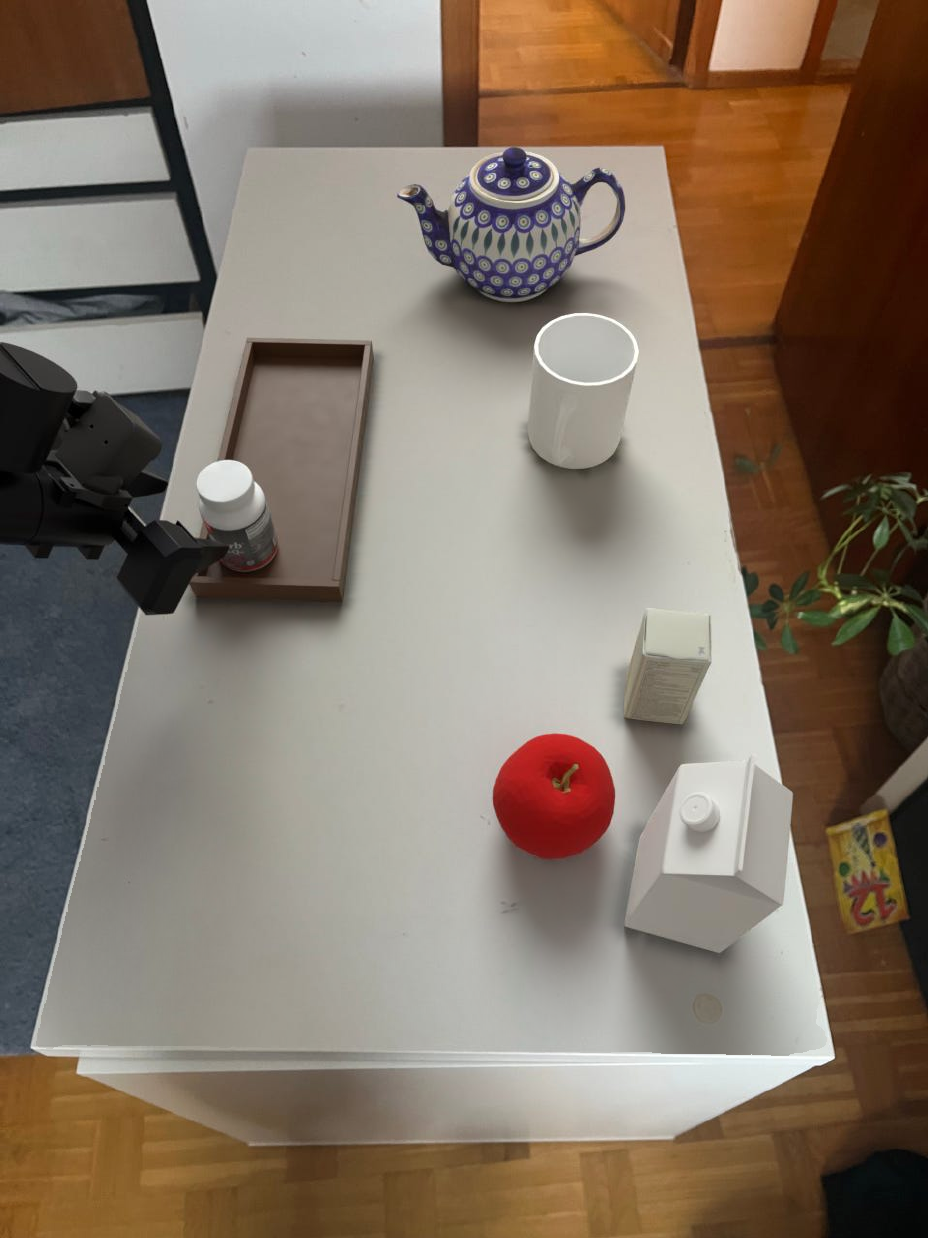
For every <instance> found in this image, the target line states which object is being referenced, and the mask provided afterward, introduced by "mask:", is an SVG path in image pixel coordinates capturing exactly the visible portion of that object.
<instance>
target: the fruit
mask: <svg viewBox="0 0 928 1238" xmlns="http://www.w3.org/2000/svg"><path fill="white" fill-rule="evenodd" d="M615 803H616V788H615V783H614V779H613V776H612V773H611V770H610V768H609V765H608V762H607V760H606V759H605V758H604V756H603V755H602V754H601V752H599V750H597V749H596V747H595V746H593V745H591V744H590V743H588V742H587V741H585V740H583V739H581V738H579V737H577V736H575V735H571V734H566V733H555V732H554V733H546V734H541V735H537V736H535V737H532V738H531V739H529V740H528V741H526V742H525V743H523V744H522V745H521V746H520V747H518V748H517V749H516V750H515V751H514V752H513V753H512V754H511V755H510V756H509V757H508V758H507V759H506V760H505V762H504V763H503V764H502V766H501V767H500V769H499V772H498V774H497V776H496V778H495V781H494V786H493V789H492V806H493V809H494V813H495V816H496V818H497V821H498V824H499V826H500V828H501V829H502V831H503V832H504V834H505V835H506V837H507V838H508V840H509V841H510V842H511V843H512V844H513V845H514V846H515V847H516V848H518V849H519V850H521V851H523V852H524V853H527V854H528V855H531V856H535V857H537V858H540V859H543V860H544V859H545V860H561V859H566V858H570V857H573V856H577V855H581V854H582V853H584V852H585V851H587V850H589V849H590V848H591V847H593V845H595V844H596V843H597V842H598V841H600V839H601V838H602V837H603V836H604V835H605V833H606V832H607V831H608V829H609V827H610V825H611V823H612V819H613V816H614V813H615V812H614V810H615Z"/></svg>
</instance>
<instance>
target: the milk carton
mask: <svg viewBox="0 0 928 1238" xmlns="http://www.w3.org/2000/svg"><path fill="white" fill-rule="evenodd" d="M756 756H757V755H756V754H755V753H752V754H751V755H750V756H749V758H748V759H745V760H744V759H743V760H727V761H713V762H712V761H711V762H693V763H681V764H680V765H679V767H678V768H677V769H676V771H675V773H674V775H673V777H672V778H671V780H670V781H669V784H668V786H667V787H666V789H665V791H664V793H663V794H662V796H661V798H660V800H659V802H658V804H657V806H656V807H655V809H654V811H653V813H652V815H651V816H650V818H649V819H648V821H647V824H646V825H645V827H644V828H643V831H641V834H640V836H639V840H638V845H637V849H636V856H635V861H634V867H633V872H632V878H631V884H630V890H629V895H628V900H627V905H626V906H627V907H626V912H625V918H624V927H626V928H629V929H632V930H636V931H639V932H643V933H645V934H646V933H647V934H650V935H653V936H657V937H661V938H664V939H668V940H670V941H671V940H672V941H674V942H679V943H681V944H685V945H689V946H693V947H696V948H700V949H704V950H707V951H711V952H714V953H718V954H720V953H722V952H723V951H725V950H727V948H729V947H730V946H731V945H732V944H734V943H735V942H737V940H739V939H740V938H742V937H743V936H744V935H745V934H747V933H748V932H750V931H751V930H752V929H753V928H755V927H756V926H757V925H758V924H760V923H761V922H762V921H763V920H765V919H766V918H768V917H769V916H770V915H771V914H773V913H774V912H776V911H777V910H778V909H779V908H781V907H782V906H784V901H785V889H786V878H787V867H788V856H789V847H790V844H789V843H790V832H791V823H792V811H793V801H794V794H793V792H792V790H790V789H789V788H788V787H786V786H785V785H783V784H782V783H781V782H780V781H778V780H777V779H776V778H774V777H773V776H771V775H770V774H769V773H767V772H766V771H765V770H764V769H762V768H761V767H759V766H758V765H757V764H756Z"/></svg>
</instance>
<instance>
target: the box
mask: <svg viewBox="0 0 928 1238" xmlns="http://www.w3.org/2000/svg"><path fill="white" fill-rule="evenodd" d="M711 619H712V618H711V615H710V614H708V613H700V612H693V611H684V610H673V609H664V608H655V607H654V608H653V607H646V608H645V610H644V613H643V616H642V620H641V624H640V627H639V630H638V634H637V638H636V641H635V644H634V648H633V652H632V655H631V659H630V662H629V665H628V667H627V672H626V677H625V689H624V699H623V700H624V701H623V702H624V703H623V717H624V718H626V719H632V720H638V721H645V722H654V723H656V722H657V723H663V724H665V723H666V724H675V725H683V724H684V723H685V721H686V719H687V717H688V714H689V712H690V710H691V707H692V706H693V703H694V701H695V699H696V697H697V695H698V692H699V690H700V688H701V686H702V684H703V681H704V679H705V678H706V675H707V672H708V670H709V668H710V666H711V665H712V620H711Z"/></svg>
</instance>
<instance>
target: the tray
mask: <svg viewBox="0 0 928 1238" xmlns="http://www.w3.org/2000/svg"><path fill="white" fill-rule="evenodd" d="M242 353H243V354H242V357H241V362H240V366H239V370H238V375H237V379H236V382H235V387H234V391H233V395H232V400H231V403H230V408H229V412H228V416H227V420H226V425H225V428H224V433H223V436H222V442H221V445H220V450H219V454H218V458H217V462H218V461H222V460H233V461H238V462H240V463H242V464H244V465H245V466H247V467H248V469H249V470H250V472H251V474H252V476H253V479H254V482H256V483H257V484H258V485H259V486H260V487H261V489H262V491H263V493H264V495H265V498H266V502H267V505H268V509H269V512H270V515H271V518H272V522H273V525H274V528H275V532H276V535H277V539H278V548H277V552H276V554H275V556H274V558H273V559H272V560H271V561H270V562H269V563H268V564H267V565H265V566H264V567H262V568H260V569H258V570H255V571H251V572H238V571H234V570H231V569H229V568H227V567H226V566H225V565H224V564H223V563H222V562H221V561H220V560H219V561H217V562H215V563H214V564H212V565H210V566H209V567H207V568H205V569H204V570H202V571H200V572H199V573H197V574H195V575H194V576H193V577H192V579H191V581H190V583H189V586H190V589H191V591H192V592H193V594H194V597H195V598H202V599H203V598H205V599H208V598H209V599H233V600H234V599H235V600H236V599H237V600H265V601H266V600H267V601H269V600H270V601H271V600H272V601H306V602H333V603H334V602H335V603H336V602H337V603H342V602H343V601H344V595H345V588H346V580H347V573H348V572H347V571H348V563H349V556H350V548H351V540H352V533H353V532H352V531H353V524H354V517H355V508H356V501H357V493H358V492H357V491H358V485H359V484H358V483H359V479H360V470H361V463H362V462H361V461H362V453H363V447H364V440H365V439H364V438H365V430H366V423H367V415H368V409H369V408H368V407H369V399H370V392H371V384H372V377H373V369H374V362H375V361H374V360H375V356H374V347H373V341H372V340H369V339H368V340H367V339H366V340H362V339H321V338H285V337H284V338H281V337H280V338H279V337H277V338H276V337H272V338H271V337H247V338H246V341H245V345H244V349H243V352H242ZM198 538H201V539H207V540H211V539H210V536H209V534H208V531H207V529H206V526H205V524H204V522H203V521H202V524H201V529H200V533H199V537H198Z"/></svg>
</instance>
